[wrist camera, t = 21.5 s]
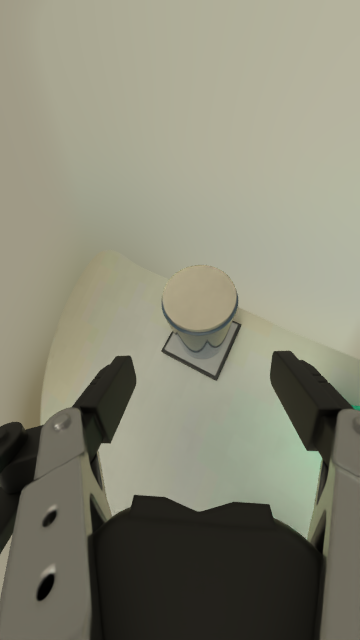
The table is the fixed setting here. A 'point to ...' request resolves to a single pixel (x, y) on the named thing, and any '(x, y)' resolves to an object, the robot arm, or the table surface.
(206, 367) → the scale
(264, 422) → the table surface
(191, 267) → the canister
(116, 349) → the table surface
